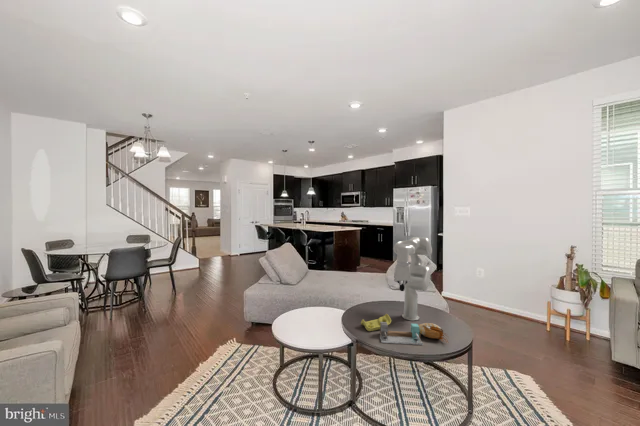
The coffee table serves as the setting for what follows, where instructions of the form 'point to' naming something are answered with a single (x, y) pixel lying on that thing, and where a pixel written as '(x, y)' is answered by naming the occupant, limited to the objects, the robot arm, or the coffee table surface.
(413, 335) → the block
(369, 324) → the plastic component
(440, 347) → the coffee table surface
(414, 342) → the bolt plate
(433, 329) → the nautilus
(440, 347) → the coffee table surface
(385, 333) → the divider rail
